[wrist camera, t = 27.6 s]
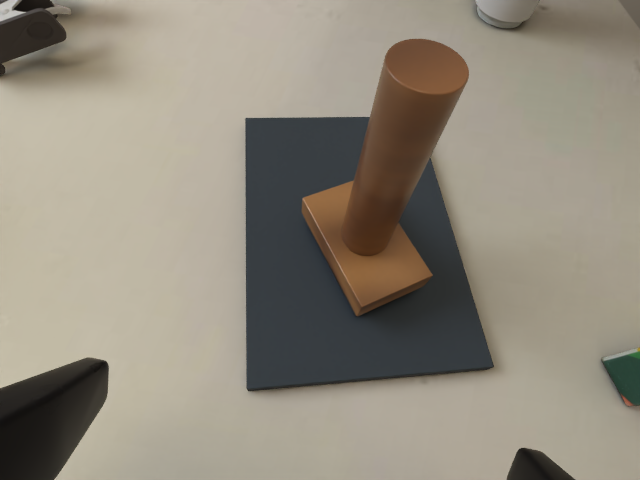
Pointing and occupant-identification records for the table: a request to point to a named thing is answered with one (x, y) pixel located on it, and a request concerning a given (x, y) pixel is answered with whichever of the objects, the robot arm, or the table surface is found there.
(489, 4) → the energy drink can
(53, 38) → the clip-on lamp
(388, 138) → the peg on stand
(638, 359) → the crayon box
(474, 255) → the table surface
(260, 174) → the scrub mat
